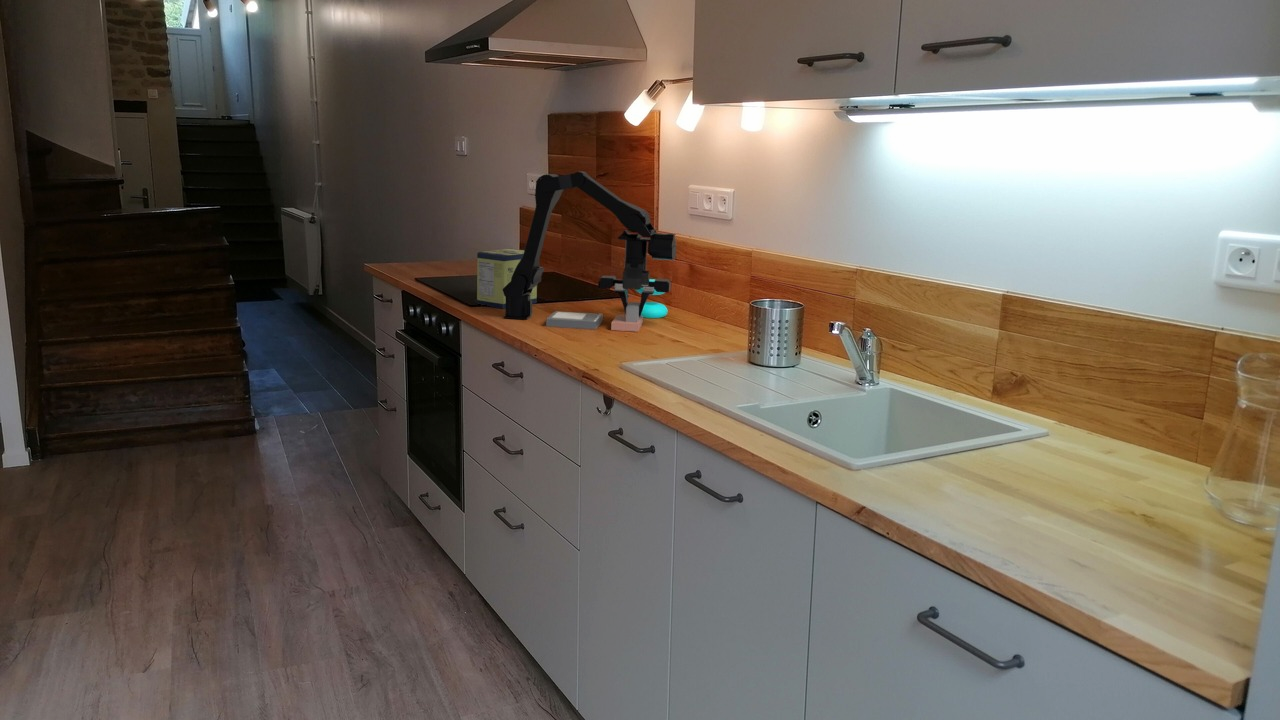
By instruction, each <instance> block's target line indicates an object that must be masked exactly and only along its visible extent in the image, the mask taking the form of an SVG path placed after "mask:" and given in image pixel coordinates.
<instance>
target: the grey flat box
mask: <svg viewBox="0 0 1280 720" xmlns="http://www.w3.org/2000/svg"><path fill="white" fill-rule="evenodd" d="M603 317H604V314H603V313H594V312H593V313H592V312H577V311H576V312H572V311H561V310H560V311H559V310H558V311H557V310H555V311H554V312H552V313H551V314H550V315H549V316H548V317H547V318H546V319H545V320H546V321H545V323H546V324H545V327H552V328H567V329H568V328H569V329H583V330H597V329H598V327H599V326H600V325H601V323H602V322H603V321H604V320H603Z"/></svg>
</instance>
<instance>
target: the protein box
mask: <svg viewBox="0 0 1280 720" xmlns="http://www.w3.org/2000/svg"><path fill="white" fill-rule="evenodd" d="M524 250H525V249H517V248H505V249H495V250H486V251H478V252H477V255H476V257H477V259H476V260H477V265H476V266H477V267H476V269H477V273H476V277H477V278H476V282H477V283H476V285H477V286H476V288H477V289H476V298H477V299H476V301H477V302H476V304H477V303H479V304H483V305H487V306H486V307H489V306H490V308H495V309H500V310H505V308H506V297H505V296H504V293H503V288H504V287H505V286H506V285H507V284H508V283H510V282H511V278H512V275H513V273H514V271H515V269H516V267H517V265H518V263H519V262H520V260H521V259H522V257H523V254H524ZM537 290H538V285H537V286H535V287H534V288H533V290H532V292H531V293H530V294H528V295H530V300H532V305H534V304H537V297H538V293H537V292H538V291H537Z"/></svg>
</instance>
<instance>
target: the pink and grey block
mask: <svg viewBox="0 0 1280 720" xmlns="http://www.w3.org/2000/svg"><path fill="white" fill-rule="evenodd" d="M639 308H640V302H637V301H630V302H628V305H627V307H626V314H617V315H616V316H615V317H614V319H613V320H612V321H611V326H610V330H611V331H618V332H619V331H621V332H623V331H624V332H636V333H637V332H639V331H640V329H641V327H642V325H643V321H644V320H643V319H644V317H643V316H640V317H639Z"/></svg>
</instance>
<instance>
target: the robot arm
mask: <svg viewBox="0 0 1280 720" xmlns="http://www.w3.org/2000/svg"><path fill="white" fill-rule="evenodd" d="M575 188H577V189H580V190H581V191H582V192H584V193H585V194H586V195H588V196H589V197H590V198H592V199H593V200H595V201H596V202H597V203H599V204H600V205H602V206H603V207H604V208H606V209H607V210H609V212H611V213H612V214H614V216H615V217H616V218H617V220H618V221H619V223H620V224H621V225H623V227H624V228H626V229H627V230H623V231H622V233H621V234H620V235H619V236H617V239H618V240H619V241H620V240H622V241H625V244H624V245H625V247H624V248H625V250H624V268H623V271H622V279H619V278H616V276H615V275H602V276H601V277H600V278H599V279H598V283H597V284H598V285H597V288H598V289H600V290H601V289H602V290H610V289H612V288H613V287H614V290H613V292H614V293H617V294H618V296H619V297H620V301H621V302H622V306H623V310H624V315H626V307H627V305H628V304H629V295H628V294H629V293H628V289H629V290H630V289H633V290H635V291H636V290H639V289H641V288H643V289H644V290H643V291H642V294H641V293H640V295H641V296H640V302H639V303H640V308H639V317H640V316H641V313H642V311H643V308H644V305H645V303H646V302H647V300H648V298H649V296H653V295H652V294H653V293H654V291H655V290H656V291H657V292H665V293H670V292H671V288H672V287H671V285H672V284H671V283H672V282H671V280H670V279H669V278H656V279H655V282H653V281H649V279H650V270H647V259H648V258H647V255H649V257H650V256H651V258H652V259H654V260H664V261H665V260H666V261H675V259H676V255H677V242H676V233H659V232H658V231H657V230H656V229H655V228H654V226H653V223H651V216H650V214H649V212H648V211H647V210H645V209H644V208H641V207H639V206H638V205H636V204H633V203H630V202H627V201H626V200H623V199H622V198H621V197H620V196H617V195H616V194H615V193H614V192H612V191H610V189H608V188H607V187H605V186H604V185H602V184H601V183H600V182H598V181H597V180H595V179H594V178H593V177H591V176H590V175H589V174H588V173H587V172H586V171H576V172H574V173H569V174H563V175H558V174H556V173H550V174H549V173H548V174H547V173H546V174H542V175H541V176H539V177H538V178H537V180H536V182H535V189H534V190H535V191H534V199H535V207H534V208H535V209H534V213H533V217H532V219H531V220H532V221H531V224H530V227H529V232H528V236H527V240H526V243H525V246H524V247H525V248H524V249H523V250H524V254H523V257H522V259H521V260H520V262H519V263H518V265H517V267H516V269H515V271H514V273H513V275H512V278H511V282H510V283H508V284H507V285H506V286H505V287H504V288H503V293H504V296H505V297H506V308H505V309H504V310H505V312H504V313H505V314H504V315H503V319H511V320H512V319H513V320H514V319H515V320H528V319H530V318H531V317H532V316H533V304H532V300H530V295H528V294H530V293H531V292H532V290H533V288H534V287H535V286H537V287H538V284H539V283H541V282H542V275H543V273H544V270H545V267H544V266H540V257H541V253H542V249H543V247H544V242H545V238H546V234H547V231H548V227H549V223H550V219H551V217H552V213H553V210H554V208H555V207H556V205H557V203H558V201H559V199H560V198H561V196H562V193H563V191H565V190H570V189H575ZM630 232H631V233H630ZM654 289H655V290H654Z"/></svg>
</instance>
